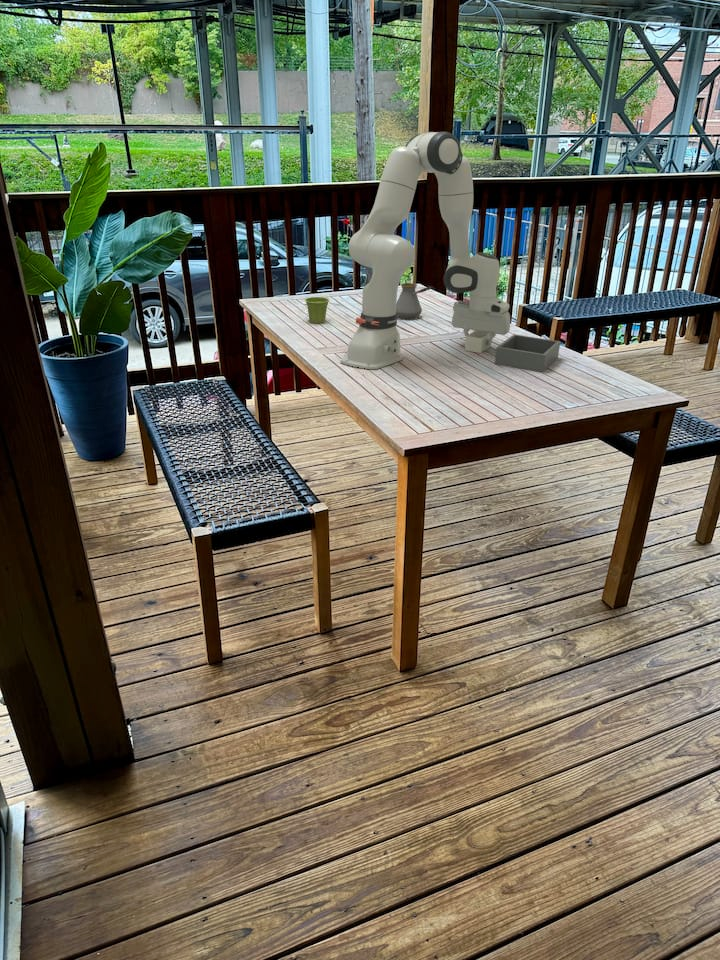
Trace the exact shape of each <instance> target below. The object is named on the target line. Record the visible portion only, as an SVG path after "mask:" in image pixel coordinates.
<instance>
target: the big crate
mask: <svg viewBox="0 0 720 960" xmlns="http://www.w3.org/2000/svg"><path fill="white" fill-rule="evenodd" d="M560 347H561V341H560V340H553V339H547V338H540V337H535V336H527V335H522V334H513V335H511V336H509V337H508V338H507V339H506V340H504V341H503V342H501V343H500V344H499V345H498V346H497V347H496V349H495V355H494V356H495V358H494V365H498V366H503V367H508V368H512V369H514V368H515V369H521V370H525V371H531V372H537V373H542V372H543V373H544V372H545V371H546V370H547V369H548V368H549V367H551V365H553V364H554V363H555V361H556V360H558V359H559V354H560Z"/></svg>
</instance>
